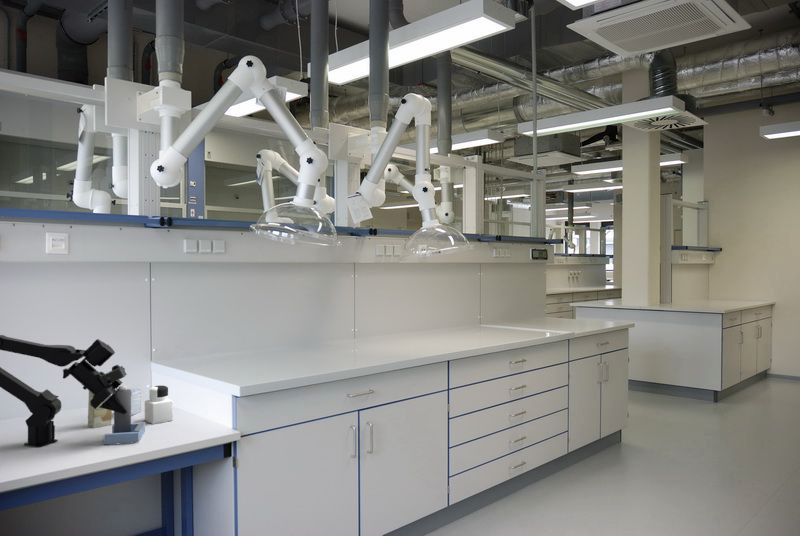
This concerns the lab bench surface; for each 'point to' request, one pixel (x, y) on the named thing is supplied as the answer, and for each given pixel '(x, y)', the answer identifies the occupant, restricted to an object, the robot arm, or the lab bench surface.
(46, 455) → the lab bench surface
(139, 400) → the medicine box
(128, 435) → the socket cradle
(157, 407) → the medicine bottle
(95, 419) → the skincare box
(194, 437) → the lab bench surface
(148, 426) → the lab bench surface
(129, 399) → the grey cylindrical bottle
